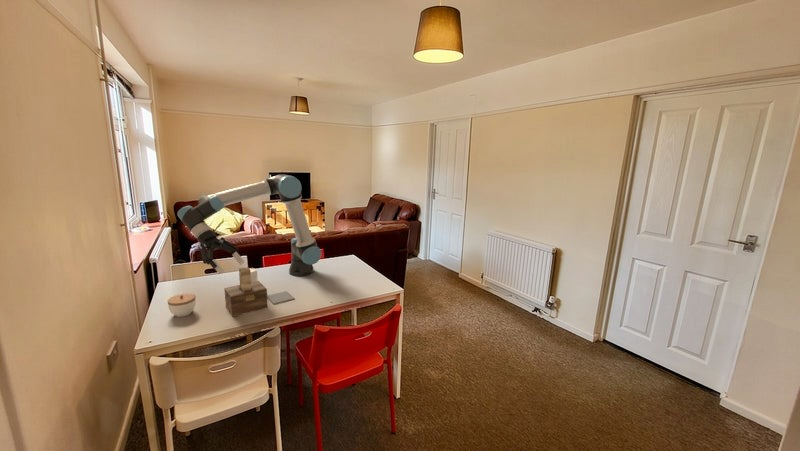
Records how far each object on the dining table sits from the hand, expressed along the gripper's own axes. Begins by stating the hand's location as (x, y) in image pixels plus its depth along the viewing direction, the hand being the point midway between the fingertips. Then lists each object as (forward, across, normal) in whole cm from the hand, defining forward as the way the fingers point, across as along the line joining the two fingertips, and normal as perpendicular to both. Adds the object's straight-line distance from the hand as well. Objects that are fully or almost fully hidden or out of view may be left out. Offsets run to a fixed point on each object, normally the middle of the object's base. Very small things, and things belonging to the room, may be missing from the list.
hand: (232, 267), depth 155 cm
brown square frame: (+18, -1, -10) cm, 21 cm away
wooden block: (+14, -1, -6) cm, 15 cm away
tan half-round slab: (+11, -18, -18) cm, 28 cm away
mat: (+25, -15, -4) cm, 29 cm away
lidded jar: (+3, +14, -26) cm, 30 cm away
